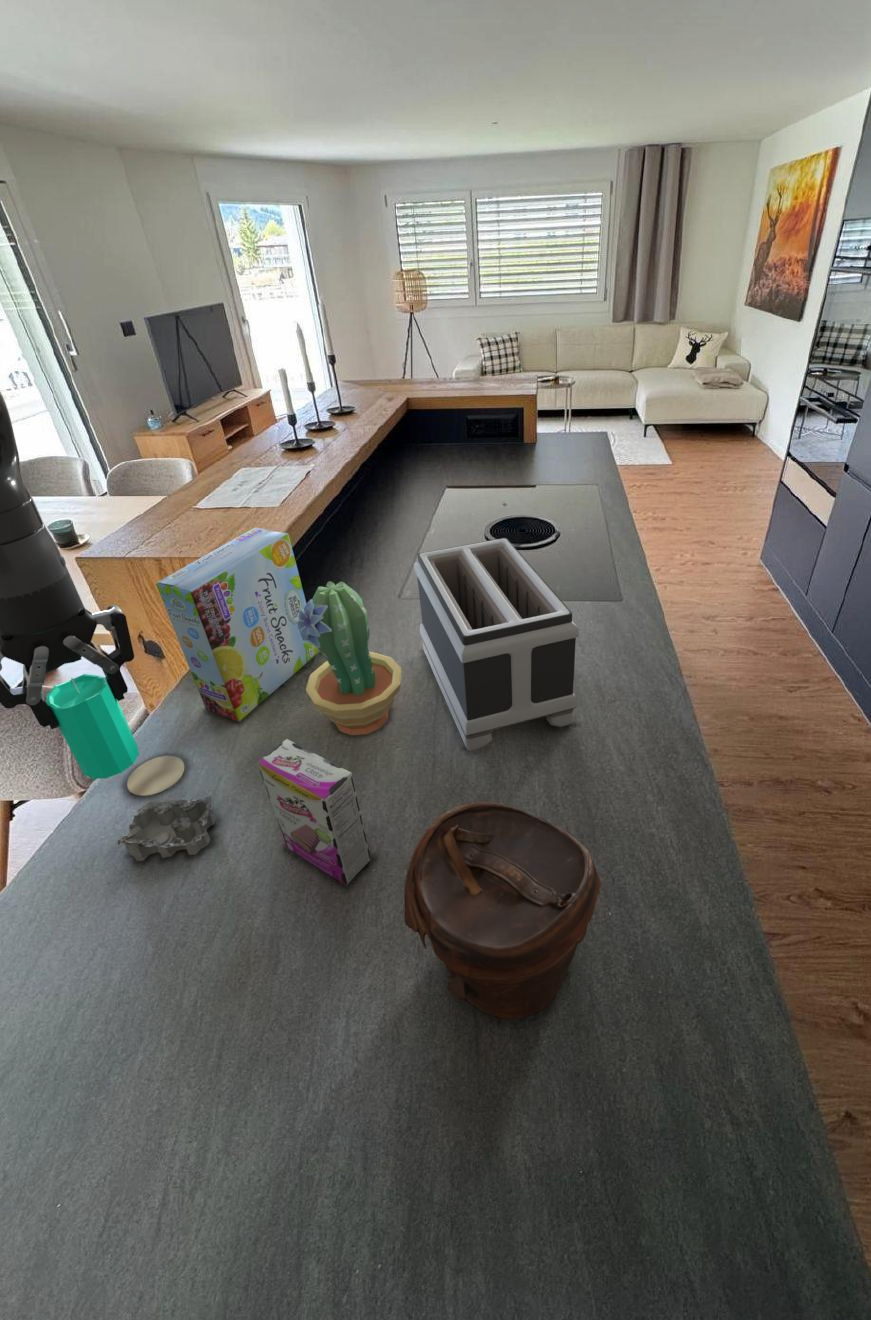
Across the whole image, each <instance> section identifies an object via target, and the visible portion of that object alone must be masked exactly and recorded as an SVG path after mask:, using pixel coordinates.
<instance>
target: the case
mask: <svg viewBox="0 0 871 1320" xmlns="http://www.w3.org/2000/svg"><path fill="white" fill-rule="evenodd" d="M598 873H599V872H598V870H597V868H596V865H595V863H594V861H593V858H592V855H591V853H590V852H589V850H588V849H587V848H586V847H585V845H583V844H582V843H581V842H580V841H579V840H578V839H577V838H575V837H574V836H573V835H572V834H571V833H569V832H568V831H566V830H565V829H563V828H561V827H560V826H558V825H557V824H555V823H553V822H552V821H550V820H548V819H547V818H544V817H541V816H539V815H536V814H533V813H531V812H529V811H526V810H524V809H522V808H518V807H515V806H512V805H507V804H504V803H500V802H493V801H475V802H474V801H473V802H467V803H464V804H462V805H458V806H456V807H453V808H451V809H450V810H447V811H445V812H444V813H442V814H441V815H440V816H438V817H437V818H436V819H435V820H434V821H433V822H432V823H431V824H430V825H429V827H428V828H427V829H426V830H425V832H424V833H423V835H422V836H421V838H420V839H419V841H418V843H417V845H416V846H415V847H414V851H413V853H412V856H411V858H410V861H409V866H408V869H407V872H406V876H405V883H404V891H403V897H404V898H403V902H404V903H403V904H404V905H403V906H404V924H405V925H406V926H407V928H408V929H410V930H412V931H413V932H414V933H417V934H418V936H419V939H420V940H421V943H422V946H423V948H424V949H425V950H427V944H426V936H427V938H428V939H429V941H430V944H431V947H432V950H433V953H434V954H435V956H436V957H437V959H439V960H440V961H441V963H443V964H444V966H445V969H446V970H447V972H448V974H449V976H450V977H451V979H450V980H449V983H448V985H447V991H449V992H450V993H451V995H452V996H453V997H455V998H456V1000H458V1001H460V1002H463V1001H464V1000H465V999H467V1001H468V1002H470V1004H471V1005H473V1006H475V1008H477V1009H478V1010H481V1011H482V1012H485V1013H486V1014H488V1015H491V1016H494V1017H497V1018H502V1019H520V1018H524V1017H529V1016H531V1015H533V1014H535V1013H537V1012H539V1011H540V1010H543V1009H544V1008H545V1007H546V1006H548V1005H549V1004H550V1003H551V1002H552V1000H554V998H555V997H556V995H557V994H558V992H559V990H560V988H561V986H562V984H563V982H564V979H565V977H566V974H567V972H568V970H569V968H570V966H571V963H572V960H573V958H574V956H575V954H576V951H577V948H578V947H579V945H580V944H581V943H582V942H583V941H584V939H585V938H586V935H587V929H588V927H589V923H590V922H591V920H592V918H593V915H594V912H595V909H596V904H597V902H598V896H599V895H600V890H601V886H602V880H601V878H600V876H599V874H598Z"/></svg>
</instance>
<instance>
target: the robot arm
mask: <svg viewBox="0 0 871 1320" xmlns="http://www.w3.org/2000/svg"><path fill="white" fill-rule="evenodd" d="M17 445H18V444H17V441H16V436H15V433H14V428H13V424H12V420H11V415H10V413H9V409H8V406H7V404H6V401H5V399H4V397H3V394H2V391H0V672H1V671H2V669H3V664H2V660H3V659H4V658H5V659H8V660H11V661H14V662H16V663H19V664H21V665H23V666H22V683H21V687H11V685H10V684H9V683H8V682H7V680H6V679H5V678H4V677H3V676H2V675H1V674H0V704H1V705H2V706H3V707H4V708H5V709H7V710H8V709H14V708H16V707H17V706H20V705H26V706H28V707H29V708H30V710H31V711H32V713H33V715H34V717H35V718H36V720H37V722H38V724H39V725H40V726H41V727H43V728H46V727H48V726H49V727H50V729H51V730H55V729H56V728H59V725H58V723H57V722H56V720H55V718H54V716H53V714H52V712H51V710H50V709H49V707H48V705H47V699H46V698H45V697H44V695H43V693H42V692H43V686H44V684H45V681H46V680H45V679H46V671H47V672H48V673H50V672H52V671H54V670H57V669H59V668H61V667H62V666H64V665H65V664H72V663H76V662H78V661H81V660H82V658H83V659H85V660H87V661H88V662H90V663H91V664H93V665H95V666H98V667H99V668H101V670H102V673H103V674H104V677H107V679H108V681H109V683H110V686H111V688H112V690H113V692H114V695H115V697H116V699H117V701H118V702H120V701H123V700H125V696H124V694H126V693H128V691H129V690H128V689H129V687H128V685H127V683H126V681H125V678H124V676H123V674H122V671H121V668H122V666H123V665H124V664H126V663H130V662H132V661H134V658H135V652H134V649H133V644H132V639H131V634H130V629H129V626H128V621H127V616H126V614H125V613H124V612H123V610H122V609H121V608H120V607H119V606H118V605H116V604H111V605H109V606H108V607H107V608H106V610H103V611H98V612H95V613H92V612H91V611H90V610H88V609H87V608H86V607H85V605H84V602H83V600H82V599H81V596H80V594H79V591H78V589H77V588H76V585H75V582H74V581H73V578H72V576H71V573H70V572H69V571H70V570H69V569H68V567H67V564H66V559H65V557H64V556H63V555H62V554H61V551H60V549H59V547H58V545H57V543H56V541H55V540H54V538H53V536H52V534H51V533H50V531H49V530H48V528H47V527H46V525H45V523H44V522H43V521H44V520H43V518H42V516H41V513H40V512H39V509H38V507H37V505H36V503H35V500H34V498H33V496H32V494H31V492H30V490H29V488H28V486H27V484H26V483H25V480H24V476H23V474H22V469H21V462H20V455H19V450H18V446H17ZM98 625H100V626H103V627H104V630H106V631H108V632H111V635H112V640H113V644H114V648H115V649H113V650H112V651H111V652H110V653H108V652H107V651H105V650H104V649H103V648H101V647H100V646H99V645H98V644H96V642H94V641H93V638H94V637H93V636H94V634H95V632H96V629H97V626H98Z"/></svg>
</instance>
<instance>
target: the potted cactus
mask: <svg viewBox="0 0 871 1320" xmlns="http://www.w3.org/2000/svg"><path fill="white" fill-rule="evenodd" d="M298 618H299V621H297V623H298V629H299V630H300V634H301V636H302V639H303V641H305V640H306V641H307V642H308V641H310V642H311V643H312V644H314V645H315V646H316V647H317V648H318V650H319V652H320V653H321V655H323V656H324V657H325V659H326V661H324V663H322V664H321V665H320V666H319V667H317V668H316V669H315V670H314V671H313V672H312V673H310V675H309V678H308V681H307V684H306V686H305V687H306V688H305V691H306V694H307V695H308V697H309V698H310V700H311V702H312V703H313V704H314V706H315V708H316V709H317V710H318V711H319V712H323V713H324V714H325V716H326V717H327V718H328V720H329V721H332V722H333V723H334V724H335V726H336V728H337V729H338V731H339V732H342V733H344V734H347V735H349V736H359V735H363V736H364V735H367V734H370V733H372V732H374V731H377V730H380V728H381V727H383V725H384V724H385V723H386V722H387V721H388V719H389V718H388V717H389V710H390V709H391V708H392V706H393V704H394V701H395V697H396V695H397V694H398V693H399V692H400V689H401V681H402V673H403V672H402V671H403V669H402V667H401V666H400V665H399V664H398V662H396V660H394V659H393V658H392V657H391V656H388V655H385V654H381V653H377V652H375V651H369V641H370V625H369V624H370V623H369V615H368V611H367V609H366V608H365V606H364V603H363V598H362V597H361V596H360V595H359V593H357V592H356V590H354V589H353V588H351V587H350V586H349V585H347V584H346V583H345V582H343V581H339V582H337V583H336V584H335V583H334V582H333V581H331V580H330V581H327V583H326V585H325V586H318V587H317V589H316V590H315V593H314V595H313V597H312V598H311V599H309V600H308V602H306V606H305V607H304V609H301V611H300V613H299V616H298Z"/></svg>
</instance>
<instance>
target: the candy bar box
mask: <svg viewBox="0 0 871 1320" xmlns="http://www.w3.org/2000/svg"><path fill="white" fill-rule="evenodd" d="M257 766H258V769H259V772H260V776H261V777H262V781H263V783H264V787H265V789H266V792H267V795H268V798H269V801H270V803H271V806H272V809H273V811H274V816H275V819H276V821H277V823H278V827H279V830H280V833H281V835H282V838H283V841H284V843H285V847H286V849H287V850H289V851H290V852H291V853H294V854H295V855H297V856H298V857H300V858H301V859H303V860H305V861H307V863H310V864H311V865H312V866H314V867H315V868H318V869H319V870H321V871H322V872H324V873H325V874H327V875H328V876H330V877H331V878H333V879H335V880H337V881H338V882H339V883H341V884H343V885H344V886H348V885H350V883H351V882H352V881H353V880H354V879H355V878H356V876H358V874H359V873H360V872H361V871H362V870H363V869H364V868H365V867H366V866H367V864H368V863H369V862H370V861H371V860H372V858H371V857H372V856H371V854H370V849H369V844H368V840H367V836H366V831H365V827H364V822H363V819H362V812H361V808H360V804H359V801H358V795H357V791H356V787H355V783H354V779H353V773H352V772H351V771H349V770H347V769H346V768H343V767H342V766H339V765H337V764H335V763H334V762H332V761H330V760H328V759H326V758H324V757H323V756H321V755H319V754H317V753H314V752H313V751H311V750H309V749H308V748H306V747H303V746H301V745H299V744H298V743H296V742H294V741H292V740H290V739H288V738H286V739H285V740H283V741H282V742H281V743H280V744H278V745H277V746H276V747H275V748H273V749H272V750H271V751H269V752H268V754H265V755H264V756H263V757H262V758H260V760H258V761H257Z"/></svg>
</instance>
